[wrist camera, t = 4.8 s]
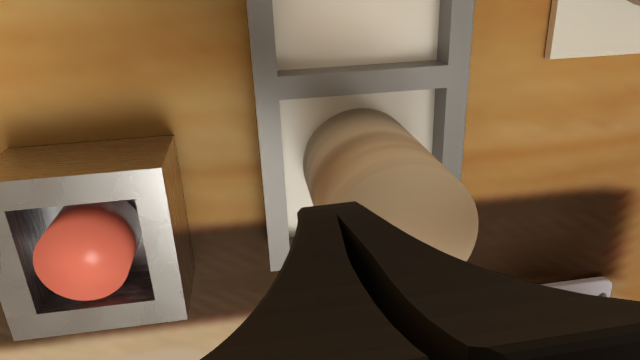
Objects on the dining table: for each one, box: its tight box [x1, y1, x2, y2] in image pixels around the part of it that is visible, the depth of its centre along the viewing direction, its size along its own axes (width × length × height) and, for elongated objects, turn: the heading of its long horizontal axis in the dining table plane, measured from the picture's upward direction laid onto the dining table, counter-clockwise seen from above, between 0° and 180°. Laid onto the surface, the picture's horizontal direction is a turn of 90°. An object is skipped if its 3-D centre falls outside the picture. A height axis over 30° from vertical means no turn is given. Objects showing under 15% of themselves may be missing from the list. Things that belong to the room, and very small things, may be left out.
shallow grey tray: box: [246, 0, 475, 271], centre depth 18 cm, size 14×8×2 cm, turn 2°
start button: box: [33, 200, 142, 301], centre depth 18 cm, size 3×3×2 cm
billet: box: [303, 108, 478, 262], centre depth 17 cm, size 4×4×6 cm
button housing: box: [0, 135, 195, 341], centre depth 18 cm, size 6×6×4 cm
